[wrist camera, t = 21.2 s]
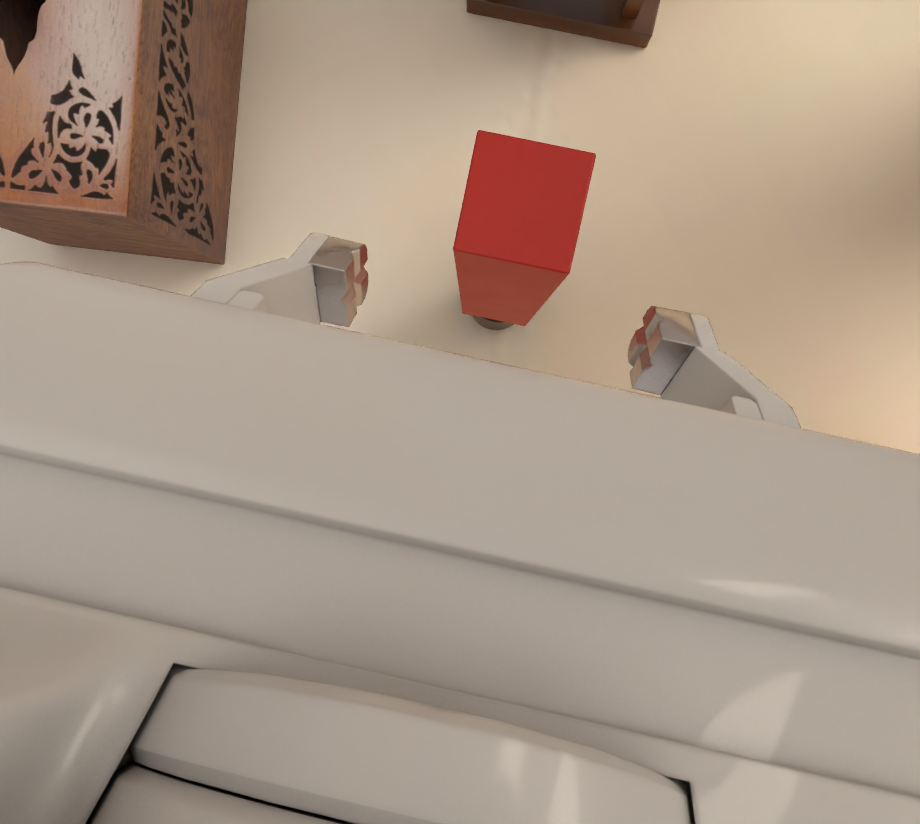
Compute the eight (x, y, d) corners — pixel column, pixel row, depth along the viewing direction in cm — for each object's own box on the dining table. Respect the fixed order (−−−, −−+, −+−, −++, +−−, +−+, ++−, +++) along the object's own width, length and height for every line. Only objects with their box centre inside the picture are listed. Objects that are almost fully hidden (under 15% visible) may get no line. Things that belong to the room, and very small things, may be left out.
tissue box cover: (224, 264, 35) (126, 216, 25) (50, 244, 36) (-113, 189, 26) (253, -73, 34) (161, -265, 24) (72, -91, 34) (-93, -287, 24)
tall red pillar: (536, 399, 18) (603, 145, 15) (430, 376, 18) (476, 119, 15) (517, 332, 36) (545, 213, 33) (465, 321, 36) (488, 202, 33)
